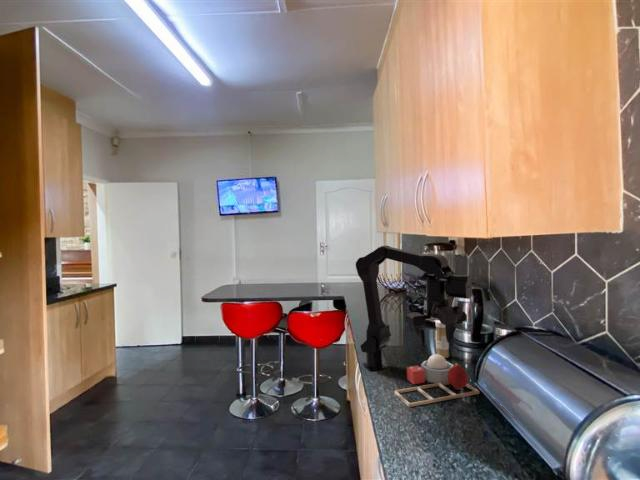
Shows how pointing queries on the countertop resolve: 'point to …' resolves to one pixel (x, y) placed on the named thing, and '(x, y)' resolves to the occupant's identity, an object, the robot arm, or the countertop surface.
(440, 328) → the sprinkles bottle
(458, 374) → the onion
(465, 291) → the robot arm
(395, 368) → the countertop surface
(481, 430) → the countertop surface
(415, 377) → the dome base
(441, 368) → the dome
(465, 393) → the wooden frame with crossbars
